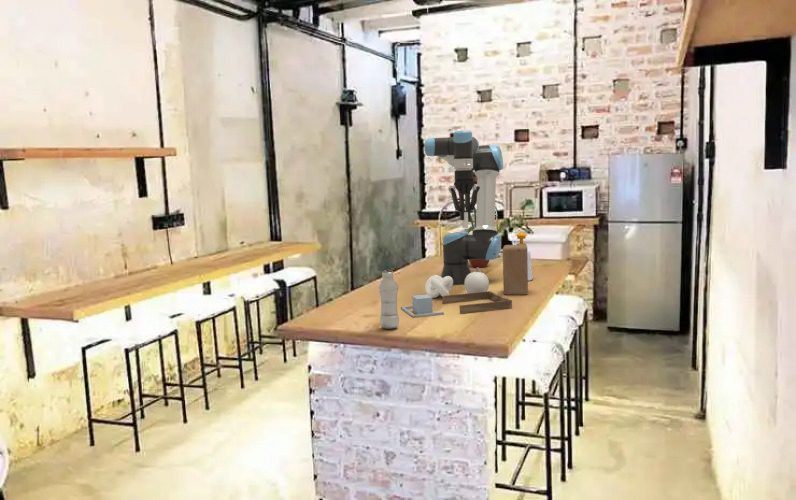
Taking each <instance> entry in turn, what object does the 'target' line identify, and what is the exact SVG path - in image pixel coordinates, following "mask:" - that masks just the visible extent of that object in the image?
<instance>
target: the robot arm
mask: <svg viewBox="0 0 796 500" xmlns="http://www.w3.org/2000/svg"><path fill="white" fill-rule="evenodd" d="M424 154H425V155H426V156H427V157H439V158H441V159H442V160H444V161H446V162H447V163H448V165H450V166H451V167H452V168H453V169H454V182H453V185H452V186H451V187H448V191H449V193H450V195H451V198H452V202H453V207H454V210H455V211H456V212H459V219H460V221H461V222H462V223H461V224H462V229H469V222H468V220H470V214H471V213H472V211H474V208H476V228H475V227H474V229H473V231H471V233H472V234H468V231H466V230H465V231H464V230H463V231H456V232H451V233H447V234H445V235H444V236H443V237H442V250H443V251H442V252H443V253H442V255H443V259H442V260H443V266H442V269H441V274H440V276H441V277H442V278H444V277H446V276H450V277H451V278H452V279H453V285H462V284H463V285H464V282H465V278H466V277H467V275H468V274H470V273H472V271H471V269H470V266H469V260H489V261H490V260H496V259H497V258H498V257H499V255H500V252H501V246H502V236H501V234H499V233H498V230H497V228H496V227H495V226H496V225H495V224H496V223H495V222H496V221H495V220H496V219H495V218H496V189H497V188H496V187H497V186H496V185H497V176H499V175H500V171H502V170H504V159H503V153H502V149H501V147H500V146H499V145H497V144H487V145H480V143H479V141H478V139H477V138H476V137H474V136H473V132H472V131H471V130H468V129H467V130H455V131H454V132H453V136H450V137H430V138H426V139H425V140H424ZM474 175H475V176H476V177H477V182H476V184H475V181H474ZM456 190H457V192H458V195H457V192H456ZM471 192H472V193H471ZM470 212H471V213H470Z"/></svg>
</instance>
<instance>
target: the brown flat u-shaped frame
mask: <svg viewBox="0 0 796 500" xmlns="http://www.w3.org/2000/svg"><path fill="white" fill-rule="evenodd" d="M441 298H442V302H441V304H442V305H443V304H454V303H455V304H456V303H462V302H463V303H466V302H472V301H475V302H476V301H481V300H484V301H485V300H491V301H490V302H489V301H488V302H479V303H469V304H461V305H459V314H460V315H461V314H463V315H464V314H471V313H481V312H490V311H497V310H499V311H500V310H506V309H507V310H508V309H512V308H513V300H511V299H509V298H507V297H505V296H503V295H500V294H498V293H495V292H493V291H489V290H487V291H486V292H477V293H468V292H466V293H459V294H458V293H457V294H450V295H447V296H441Z"/></svg>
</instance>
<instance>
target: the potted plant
mask: <svg viewBox="0 0 796 500" xmlns="http://www.w3.org/2000/svg"><path fill="white" fill-rule="evenodd" d="M476 210H477V207H475V208H474V210H473V216H474V220H473V216H472V215H471V213H472V211H471V212H470V220H468V223H471V226H470V227H468V228H467V229H468V230H467V233H468V235H470V233H471V232H473V229H475V228H476ZM468 263H469V264H470V265H471V266H472V267H473V268H477V267H480V268H485V267H487V266H488V264H489V263H490V260H468Z"/></svg>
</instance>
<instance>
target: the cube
mask: <svg viewBox="0 0 796 500" xmlns="http://www.w3.org/2000/svg"><path fill="white" fill-rule="evenodd" d="M411 301H412V302H411V303H412V306H413V308H412V311H413V312H414V314H415V315H418V314H427V313H434V312H433V298H432V297H430V296H429V295H427V294H420V295H418V294H417V295H412V297H411ZM413 312H412V313H413Z"/></svg>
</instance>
